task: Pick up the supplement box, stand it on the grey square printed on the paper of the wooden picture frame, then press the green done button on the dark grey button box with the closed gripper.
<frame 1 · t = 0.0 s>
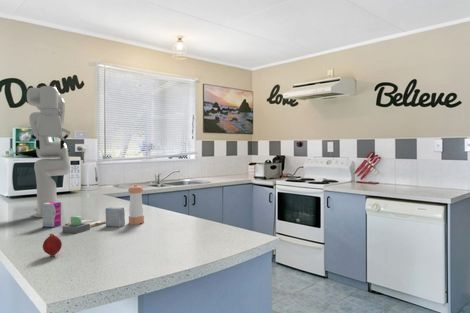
hand: (50, 149, 162), 37 cm above the counter, tool pointing down, fingers open, 9 cm apart
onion: (52, 256, 119), on the counter
supplement box: (52, 226, 164), on the counter
wooden picture frame: (86, 224, 168), on the counter
medicine box: (115, 226, 164), on the counter
pepper shaker: (136, 223, 169), on the counter
button box: (76, 230, 155), on the counter
done button: (76, 222, 155), point 4 cm above the counter, slide at 0.0 cm
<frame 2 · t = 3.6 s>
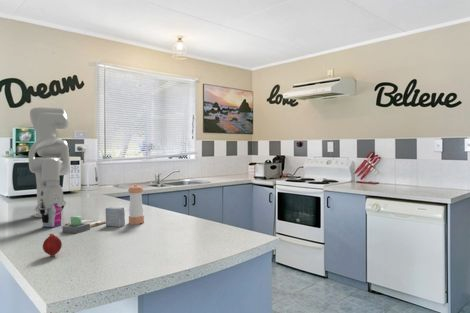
hand: (52, 220, 164), 3 cm above the counter, tool pointing down, fingers closed on supplement box, 6 cm apart
supplement box: (52, 226, 164), on the counter, touching gripper
everything else where it was.
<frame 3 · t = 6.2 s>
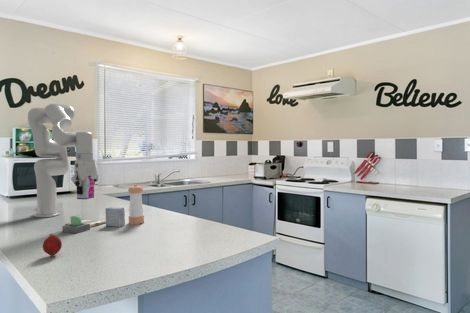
hand: (85, 193, 167), 15 cm above the counter, tool pointing down, fingers closed on supplement box, 6 cm apart
supplement box: (85, 198, 167), point 12 cm above the counter, touching gripper
everything else where it was.
when the fingers open (5 cm above the counter, at t = 8.9 s): supplement box drops 1 cm, resting on wooden picture frame.
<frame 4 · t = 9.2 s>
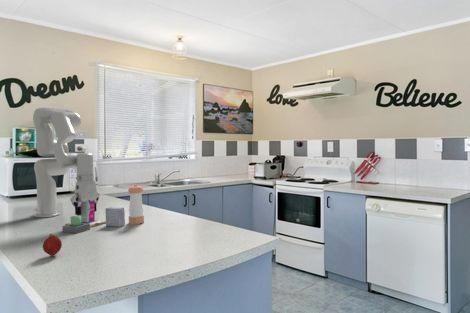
hand: (86, 213, 168), 5 cm above the counter, tool pointing down, fingers open, 9 cm apart
supplement box: (86, 222, 168), point 1 cm above the counter, touching wooden picture frame
everything else where it was.
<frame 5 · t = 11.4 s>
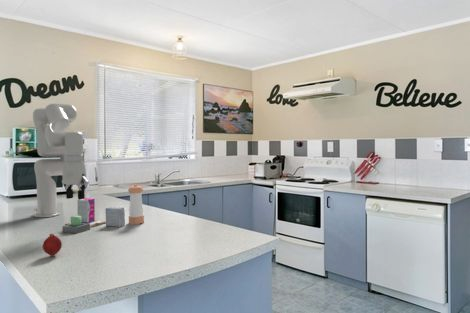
hand: (75, 198, 154), 15 cm above the counter, tool pointing down, fingers open, 6 cm apart
nothing on the counter moved.
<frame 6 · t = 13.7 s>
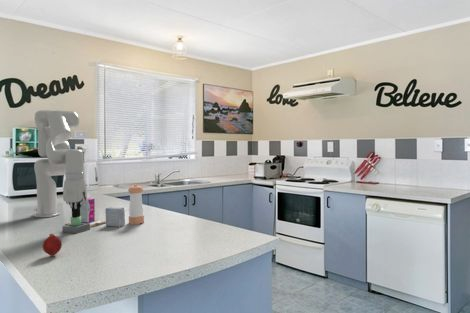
hand: (76, 216, 155), 6 cm above the counter, tool pointing down, fingers closed
done button: (76, 222, 155), point 4 cm above the counter, slide at -0.1 cm, touching gripper
everything else where it was.
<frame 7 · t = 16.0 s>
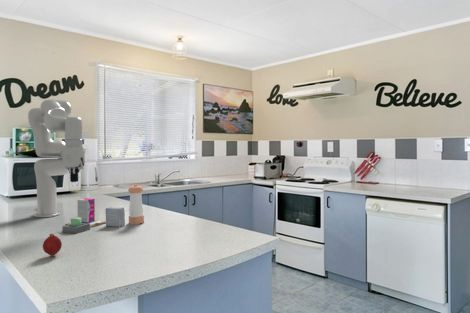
hand: (74, 181, 162), 22 cm above the counter, tool pointing down, fingers closed
done button: (76, 223, 155), point 3 cm above the counter, slide at -0.8 cm
everything else where it was.
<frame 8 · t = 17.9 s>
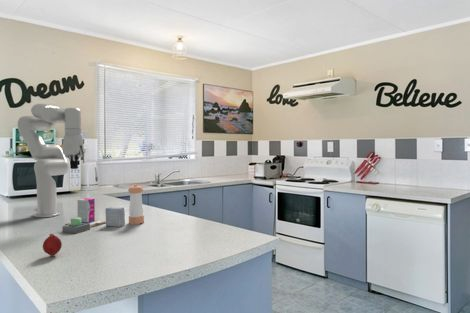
hand: (74, 168, 173), 27 cm above the counter, tool pointing down, fingers closed
nothing on the counter moved.
at the end: supplement box inside the target area on the wooden picture frame (0.3 cm from its centre), point 0.7 cm above the wooden picture frame's base; supplement box tilted 0°; done button slide at -0.8 cm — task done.
